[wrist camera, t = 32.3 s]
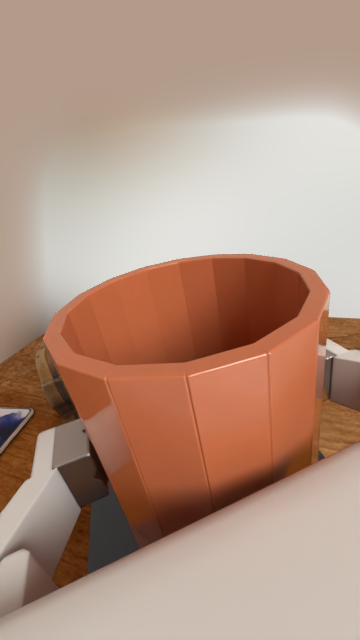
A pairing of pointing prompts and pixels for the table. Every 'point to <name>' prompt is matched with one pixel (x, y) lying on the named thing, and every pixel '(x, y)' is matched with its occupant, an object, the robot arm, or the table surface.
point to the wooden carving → (54, 386)
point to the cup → (196, 381)
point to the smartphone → (12, 423)
